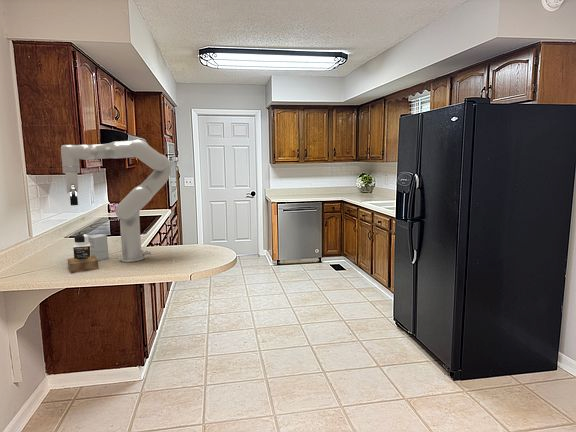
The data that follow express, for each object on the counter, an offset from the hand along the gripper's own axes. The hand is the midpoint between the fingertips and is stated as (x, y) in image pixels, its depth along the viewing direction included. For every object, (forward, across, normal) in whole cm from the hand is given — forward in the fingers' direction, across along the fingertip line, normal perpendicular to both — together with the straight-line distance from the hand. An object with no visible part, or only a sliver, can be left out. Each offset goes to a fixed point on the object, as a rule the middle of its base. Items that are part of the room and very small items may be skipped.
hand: (74, 204), depth 203 cm
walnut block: (+31, +13, +2) cm, 34 cm away
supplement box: (+31, -4, +10) cm, 32 cm away
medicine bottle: (+26, +12, +2) cm, 29 cm away
